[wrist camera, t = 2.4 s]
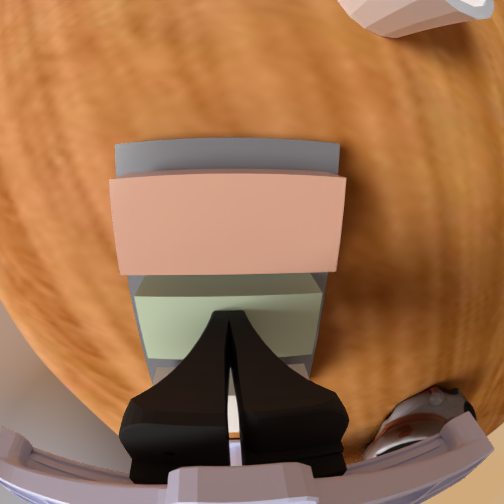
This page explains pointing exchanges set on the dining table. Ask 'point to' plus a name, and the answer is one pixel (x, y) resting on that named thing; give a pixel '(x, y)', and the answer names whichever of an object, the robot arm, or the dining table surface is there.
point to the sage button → (226, 299)
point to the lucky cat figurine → (418, 420)
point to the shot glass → (413, 14)
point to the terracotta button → (227, 221)
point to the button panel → (226, 157)
